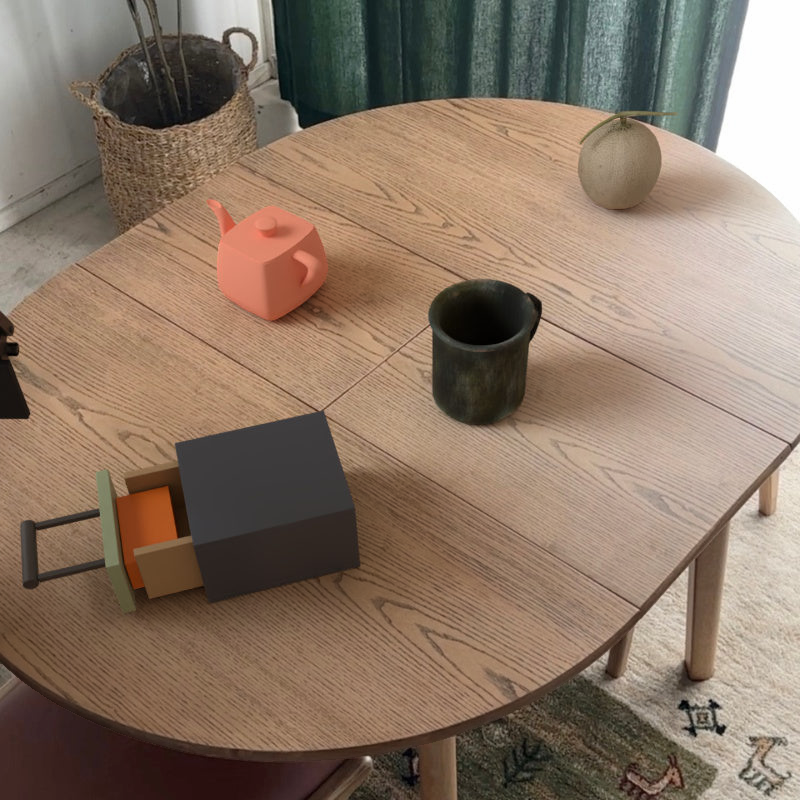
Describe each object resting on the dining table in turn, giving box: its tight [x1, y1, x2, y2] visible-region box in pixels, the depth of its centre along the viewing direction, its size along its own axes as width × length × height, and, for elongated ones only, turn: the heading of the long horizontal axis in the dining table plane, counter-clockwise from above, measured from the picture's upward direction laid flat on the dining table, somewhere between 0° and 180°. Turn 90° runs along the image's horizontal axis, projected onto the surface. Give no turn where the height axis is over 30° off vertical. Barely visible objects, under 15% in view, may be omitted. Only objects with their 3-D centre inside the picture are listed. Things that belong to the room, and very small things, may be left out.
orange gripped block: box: [116, 486, 180, 590], centre depth 100 cm, size 5×8×4 cm, turn 16°
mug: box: [427, 278, 543, 426], centre depth 114 cm, size 11×15×12 cm
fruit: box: [577, 110, 678, 210], centre depth 136 cm, size 10×12×15 cm
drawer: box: [19, 460, 204, 614], centre depth 99 cm, size 21×11×7 cm, turn 106°
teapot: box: [206, 198, 329, 321], centre depth 127 cm, size 12×18×10 cm, turn 51°
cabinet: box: [174, 410, 361, 604], centre depth 101 cm, size 15×13×9 cm
